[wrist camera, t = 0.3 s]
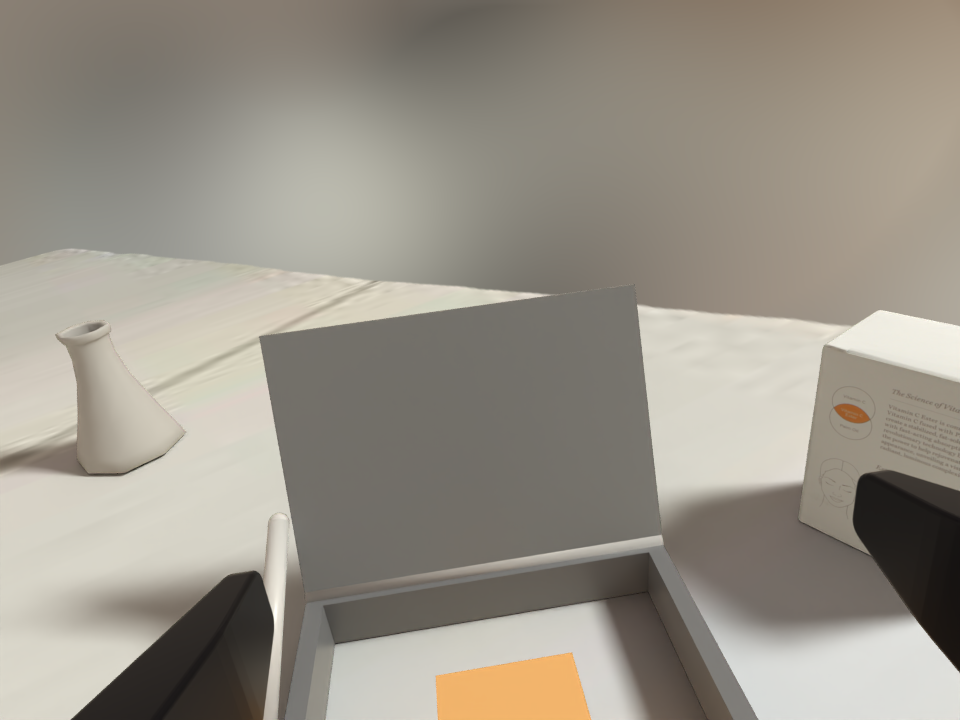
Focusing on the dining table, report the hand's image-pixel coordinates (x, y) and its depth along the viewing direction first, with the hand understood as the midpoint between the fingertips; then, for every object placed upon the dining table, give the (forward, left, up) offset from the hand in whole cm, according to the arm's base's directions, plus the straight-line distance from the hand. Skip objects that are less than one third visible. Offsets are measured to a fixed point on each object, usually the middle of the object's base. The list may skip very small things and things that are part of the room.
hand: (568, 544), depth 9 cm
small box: (+15, -20, -17) cm, 30 cm away
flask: (+35, +26, -17) cm, 47 cm away
